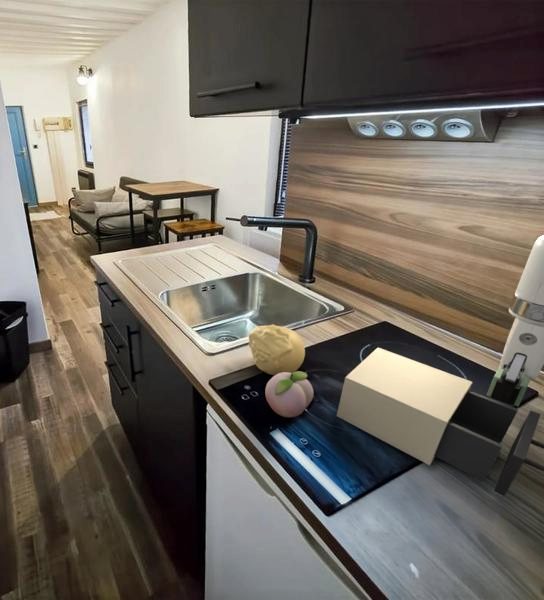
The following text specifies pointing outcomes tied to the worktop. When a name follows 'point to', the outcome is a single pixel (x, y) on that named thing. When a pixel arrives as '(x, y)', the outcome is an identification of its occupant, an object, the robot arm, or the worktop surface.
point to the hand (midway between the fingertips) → (505, 393)
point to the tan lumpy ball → (276, 349)
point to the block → (523, 385)
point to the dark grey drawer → (487, 439)
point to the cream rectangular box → (401, 402)
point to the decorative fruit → (289, 393)
